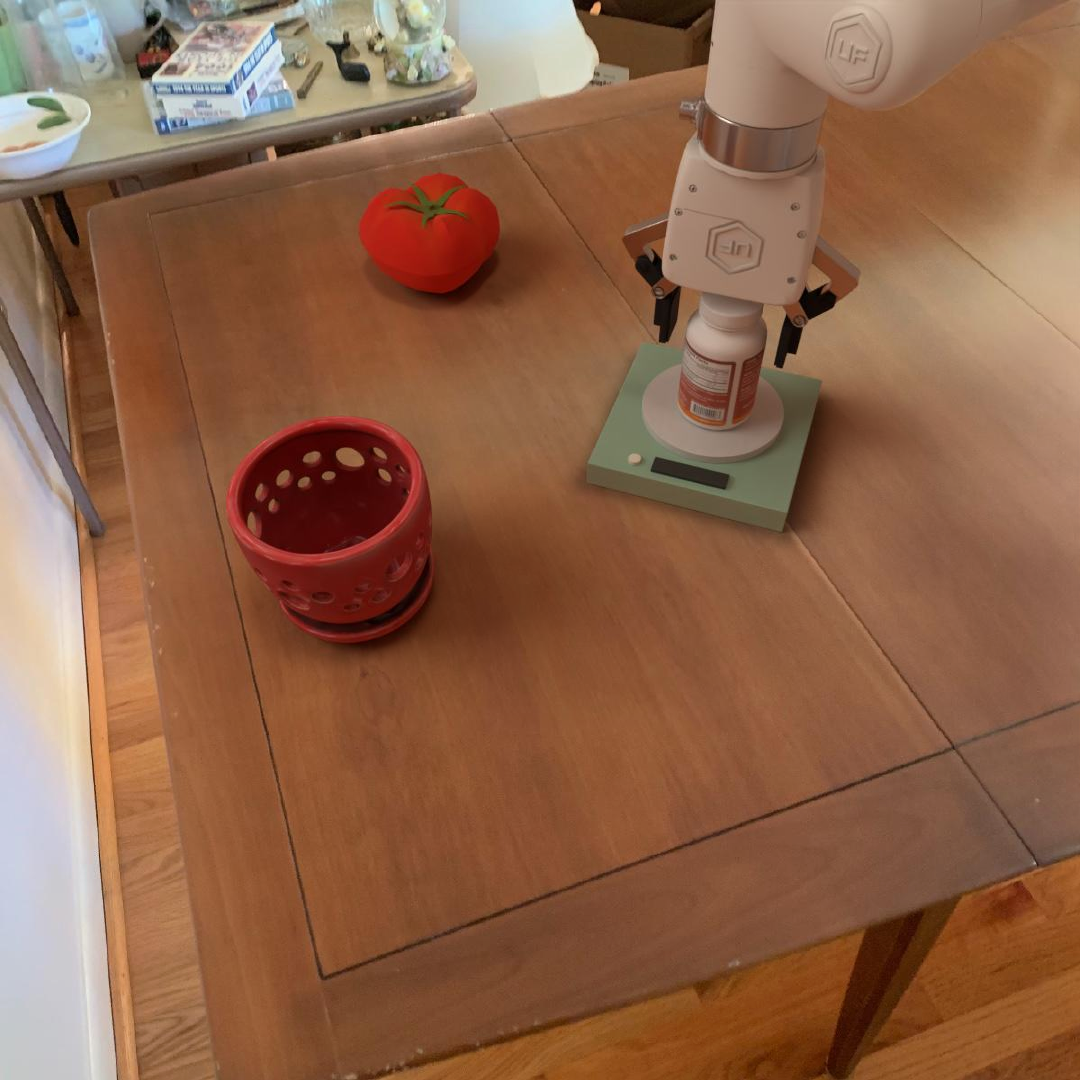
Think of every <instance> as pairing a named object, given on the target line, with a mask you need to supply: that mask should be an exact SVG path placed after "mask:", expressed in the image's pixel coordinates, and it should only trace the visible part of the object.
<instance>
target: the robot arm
mask: <svg viewBox="0 0 1080 1080" xmlns="http://www.w3.org/2000/svg"><path fill="white" fill-rule="evenodd" d="M1067 2H1071V0H715V4H714V13H713V21H712V29H711V38H710V46H709V56H708V62H707V63H708V64H707V72H706V81H705V87H704V88H705V89H704V92H703V91H702V93H701V95H700V96H695V97H694V98H692V97H687V96H683V97H682V100H681V103H680V105H679V113H678V114H679V115H678V118H679V120H682V121H689V124H692V125H693V124H694V125H695V130H696V131H695V133H693V134H692V136H691V137H690V139H688V141H687V143H686V145H685V148H684V150H683V153H682V157H681V159H680V163H679V167H678V170H677V173H676V179H675V182H674V187H673V191H672V197H671V200H670V201H671V202H670V207H669V211H666V212H664V213H660V214H658V215H656V216H652V217H651V218H650V217H649V218H647V219H645V220H642V221H639V222H636V223H634V224H631V225H629V226H628V227H627V228H626V230H625V232H624V233H623V236H622V238H621V241H622V244H623V245H624V248H625V250H626V251H627V253H628V254H629V256H630V258H631V259H632V260H633V261H634V268H635V270H636V271H637V273H638V274H639V275H640V276H641V277H642V278H643V280H644V281H645V282H646V283H647V284H648V285H649V286H650V288H651V290H650V293H651V295H652V297H654V298H655V303H654V314H653V326H658V327H659V332H658V343H661V344H666V343H669V342H670V340H671V337H672V334H673V332H674V330H675V327H676V325H677V323H678V318H679V310H680V301H681V293H682V288H685V289H689V290H693V291H697V292H707V293H712V294H717V295H722V296H727V297H732V298H737V299H742V300H747V301H752V302H757V303H763V304H764V305H767V306H777V307H782V308H783V310H784V312H785V313H786V314H785V315H784V316H785V317H784V318H783V323H782V326H781V330H780V334H779V339H778V343H777V347H776V352H775V357H774V361H773V366H775V368H776V369H782V370H783V369H784V365H785V362H786V359H787V355H788V354H791V355H794V356H797V353H798V350H799V346H800V342H801V337H802V334H803V330H804V328H805V327H806V326H807V325H808V324H809V321H811V320H812V319H814V318H817V317H819V316H820V315H823V314H824V313H827V312H828V311H830V310H832V309H834V308H835V306H836V304H837V303H838V302H839V301H842V299H844V298H845V297H847V296H848V295H849V294H850V293H851V292H853V291H854V290H855V289H856V288H857V287H858V286H859V282H860V278H861V275H862V273H861V270H860V268H859V267H857V266H856V265H855V264H854V263H852V261H850V260H849V259H848V258H846V256H844V255H842V253H840V251H838V250H837V249H836V248H835V247H833V246H832V245H831V244H830V243H828V241H826V240H825V239H824V238H822V237H821V236H820V235H819V234H820V233H819V232H820V229H821V228H820V227H821V223H822V222H821V221H822V214H823V208H824V198H825V190H826V189H825V188H826V172H827V171H826V169H827V168H826V167H827V166H826V165H827V163H826V161H827V160H826V151H825V149H824V147H823V146H822V144H820V139H821V135H822V130H823V125H824V120H825V116H826V111H827V106H828V102H829V97H830V96H832V97H833V98H835V99H836V100H837V101H840V102H841V103H843V104H845V105H848V106H850V107H852V108H855V109H857V110H862V111H869V112H883V111H884V112H885V111H891V110H894V109H897V108H900V107H903V106H904V105H906V104H909V103H910V102H912V101H914V100H916V99H917V98H918V97H920V96H921V95H922V94H924V93H925V92H927V91H928V90H930V89H931V88H932V87H933V86H934V85H936V84H937V83H938V82H940V81H941V80H942V79H943V78H945V77H946V76H947V75H949V74H950V73H951V72H953V71H954V70H955V69H956V68H958V67H959V66H960V65H962V64H963V63H964V62H965V61H967V60H968V59H969V58H970V57H972V56H973V55H974V54H976V53H977V52H979V51H980V50H982V49H983V48H984V47H986V46H988V44H990V43H991V42H993V41H995V40H996V39H997V38H1000V37H1001V36H1002V35H1004V34H1006V33H1008V32H1010V31H1011V30H1013V29H1015V28H1017V27H1018V26H1021V25H1023V24H1024V23H1026V22H1029V21H1031V20H1033V19H1034V18H1036V17H1039V16H1040V15H1043V14H1044V13H1047V12H1049V11H1051V10H1053V9H1055V8H1057V7H1060V6H1061V5H1064V4H1066V3H1067ZM662 239H664V245H663V250H662V258H661V256H659V254H658V253H657V252H656V250H654V249H653V248H651V244H650V243H653V242H656V241H659V240H662ZM812 265H813V266H815V267H816V268H817V269H818V271H819V270H820V272H822V273H823V274H824V275H826V276H827V277H828V278H829V279H830V281H828V282H826V283H824V284H822V285H820V286H819V287H816V288H815V289H813V290H811V287H810V286H809V284H808V279H809V276H810V272H811V270H812Z"/></svg>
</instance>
